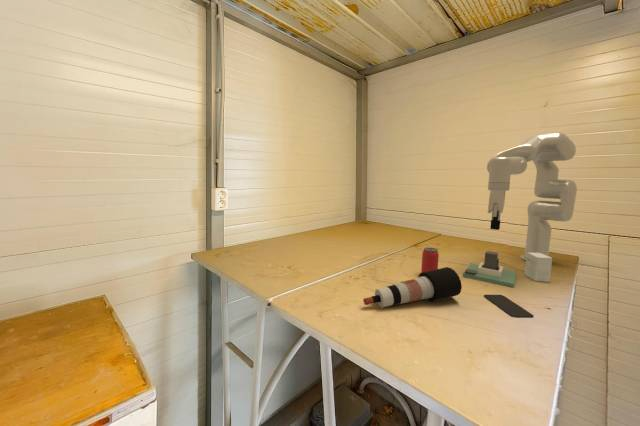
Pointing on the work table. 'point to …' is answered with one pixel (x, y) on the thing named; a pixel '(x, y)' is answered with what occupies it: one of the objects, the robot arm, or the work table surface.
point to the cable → (419, 288)
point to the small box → (538, 267)
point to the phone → (508, 306)
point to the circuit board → (505, 279)
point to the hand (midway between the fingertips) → (494, 229)
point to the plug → (491, 260)
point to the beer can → (429, 259)
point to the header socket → (490, 271)
